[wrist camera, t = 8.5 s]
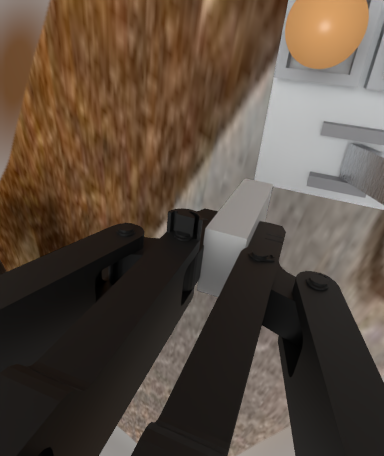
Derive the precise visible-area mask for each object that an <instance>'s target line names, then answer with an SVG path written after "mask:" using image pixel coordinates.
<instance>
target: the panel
mask: <svg viewBox="0 0 384 456" xmlns="http://www.w3.org/2000/svg"><path fill="white" fill-rule="evenodd" d="M295 1H296V0H288V5H287V11H286V16H285V21H284V26H283V31H282V37H281V42H280V47H279V52H278V57H277V62H276V68H275V73H274V80H273V86H272V91H271V96H270V101H269V106H268V111H267V116H266V122H265V127H264V132H263V137H262V142H261V147H260V153H259V158H258V163H257V168H256V173H255V178H254V180H255V181H260V182H265V183H270V184H273V187H277V188H282V189H286V190H291V191H296V192H301V193H305V194H310V195H315V196H320V197H324V198H329V199H334V200H339V201H343V202H348V203H353V204H358V205H363V206H367V207H372V208H377V209H382V210H384V205H383V204H381V203H379V202H378V201H376V200H375V199H373V198H371V197H370V196H368V195H367V194H365V193H364V192H362V191H360V190H359V189H357V188H356V187H354V186H352V185H351V184H349V183H348V182H346V181H344V180H343V179H341V178H340V177H339V175H340V171H341V168H342V165H343V162H344V159H345V156H346V152H347V149H348V146H349V143H356V144H364V145H366V146H368V147H371V148H373V149H376V150H378V151H380V152H383V153H384V0H366V1H367V4H368V9H369V20H368V26H367V30H366V33H365V35H364V37H363V40H362V41H361V43H360V45H359V46H358V48H357V49H356V50H355V51H354V52H353V53H352V54H351V55H350V56H349V57H348V58H347V59H346V60H344V61H343V62H341V63H339V64H337V65H336V66H333V67H330V68H326V69H313V68H309V67H306V66H304V65H302V64H300V63H299V62H297V61H296V60H295V59H294V58H293V56H292V55H291V53H290V52H289V50H288V47H287V44H286V39H285V26H286V21H287V17H288V14H289V12H290V10H291V8H292V6H293V4H294V3H295Z"/></svg>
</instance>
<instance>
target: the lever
mask: <svg viewBox="0 0 384 456" xmlns="http://www.w3.org/2000/svg"><path fill="white" fill-rule="evenodd" d="M339 177H340V178H341V179H343V180H344V181H346V182H348V183H349V184H351V185H352V186H354V187H356V188H357V189H359V190H360V191H362V192H364V193H365V194H367V195H368V196H370V197H371V198H373V199H375V200H376V201H378V202H379V203H381V204H383V205H384V153H383V152H380V151H378V150H376V149H373V148H371V147H368V146H366V145H364V144H356V143H349V146H348V149H347V152H346V156H345V159H344V162H343V165H342V168H341V171H340V175H339Z"/></svg>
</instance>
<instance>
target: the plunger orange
mask: <svg viewBox="0 0 384 456" xmlns="http://www.w3.org/2000/svg"><path fill="white" fill-rule="evenodd" d="M368 20H369V9H368V4H367V1H366V0H296V1H295V3H294V4H293V6H292V8H291V10H290V12H289V14H288V17H287V21H286V26H285V39H286V44H287V47H288V50H289V52H290V53H291V55H292V56H293V58H294V59H295V60H296V61H297V62H299V63H300V64H302V65H304V66H306V67H309V68H313V69H326V68H330V67H333V66H336V65H337V64H339V63H341V62H343V61H344V60H346V59H347V58H348V57H349V56H350V55H351V54H352V53H353V52H354V51H355V50H356V49H357V48H358V46H359V45H360V43H361V41H362V40H363V37H364V35H365V33H366V30H367V26H368Z"/></svg>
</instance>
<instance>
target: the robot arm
mask: <svg viewBox="0 0 384 456" xmlns="http://www.w3.org/2000/svg"><path fill="white" fill-rule="evenodd" d="M272 189H273V184H270V183H265V182H260V181H255V180H251V179H246V178H245V179H244V180H243V181H242V182H241V184H240V185H239V186H238V187H237V189H236V190H235V191H234V193H233V194H232V195H231V196H230V198H229V199H228V200H227V201H226V203H225V204H224V205H223V206H222V208H221V209H220V210H219V212H217V211H213V210H209V209H203V210H200V211H194V210H190V209H174V210H171V211H169V212H168V221H167V232H166V233H165V234H164V235H163V236H162V237H161V238H146V237H144V230H143V228H141V227H140V226H138V225H134V224H132V223H124V224H117V225H114V226H111V227H109V228H107V229H104V230H102V231H100V232H97V233H95V234H93V235H91V236H88V237H86V238H84V239H81V240H79V241H77V242H75V243H72V244H70V245H68V246H65V247H63V248H61V249H59V250H56V251H54V252H52V253H49V254H47V255H45V256H42V257H40V258H38V259H36V260H33V261H31V262H29V263H26V264H24V265H22V266H20V267H17V268H15V269H13V270H10V271H8V272H7V271H6V269H5V267H4V266H3V264H2V262H1V260H0V456H99V454H100V453H101V451H102V449H103V447H104V446H105V444H106V443H107V441H108V439H109V437H110V436H111V434H112V432H113V431H114V429H115V427H116V426H117V424H118V422H119V421H120V419H121V417H122V416H123V414H124V412H125V411H126V409H127V407H128V406H129V404H130V402H131V400H132V399H133V397H134V395H135V394H136V392H137V390H138V389H139V387H140V385H141V384H142V382H143V380H144V379H145V377H146V375H147V374H148V372H149V370H150V368H151V367H152V365H153V363H154V362H155V360H156V358H157V357H158V355H159V353H160V352H161V350H162V348H163V347H164V345H165V343H166V342H167V340H168V338H169V337H170V335H171V333H172V331H173V330H174V328H175V326H176V325H177V323H178V321H179V320H180V318H181V316H182V315H183V313H184V311H185V310H186V308H187V306H188V305H189V303H190V301H191V299H192V298H193V293H194V286H195V284H196V283H197V281H198V287H197V291H200V292H203V293H207V294H210V295H213V296H216V297H218V299H217V301H216V303H215V305H214V307H213V309H212V311H211V313H210V315H209V317H208V319H207V321H206V323H205V325H204V327H203V329H202V331H201V333H200V335H199V337H198V339H197V341H196V344H195V346H194V348H193V350H192V352H191V354H190V356H189V358H188V360H187V362H186V364H185V366H184V368H183V370H182V372H181V374H180V376H179V378H178V380H177V382H176V384H175V386H174V388H173V390H172V392H171V394H170V396H169V398H168V401H167V403H166V405H165V407H164V409H163V411H162V413H161V415H160V416H159V418H158V420H157V421H156V422H151V423H150V424H149V425H148V426H147V427H146V429H145V431H144V432H143V434H142V436H141V437H140V439H139V441H138V443H137V445H136V447H135V449H134V451H133V453H132V455H131V456H227V455H228V452H229V448H230V444H231V440H232V436H233V433H234V429H235V425H236V421H237V417H238V414H239V410H240V406H241V402H242V398H243V395H244V391H245V387H246V383H247V379H248V376H249V372H250V368H251V364H252V360H253V356H254V353H255V349H256V345H257V341H258V337H259V334H260V330H261V326H262V325H263V326H264V327H266V328H268V329H269V330H271V331H273V332H274V333H276V334H278V335H279V337H278V345H279V352H280V358H281V365H282V371H283V378H284V384H285V391H286V397H287V404H288V410H289V417H290V423H291V429H292V436H293V443H294V450H295V456H384V382H383V380H382V378H381V376H380V374H379V372H378V369H377V367H376V365H375V363H374V361H373V359H372V356H371V354H370V352H369V350H368V348H367V346H366V344H365V341H364V339H363V337H362V335H361V333H360V331H359V329H358V326H357V324H356V322H355V320H354V318H353V316H352V314H351V311H350V309H349V307H348V305H347V303H346V301H345V298H344V296H343V294H342V292H341V290H340V288H339V286H338V285H337V283H336V282H335V281H334V280H332V279H331V278H330V277H328V276H326V275H323V274H322V273H317V272H312V271H305V272H301V273H299V274H298V275H297V276H296V277H295V276H293V275H291V274H289V273H287V272H286V271H285V270H284V269H282V267H281V266H280V264H279V257H280V253H281V249H282V245H283V241H284V237H285V233H286V232H285V230H284V228H283V227H282V226H279V225H275V224H271V223H267V222H265V220H266V215H267V211H268V207H269V202H270V198H271V193H272Z"/></svg>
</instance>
